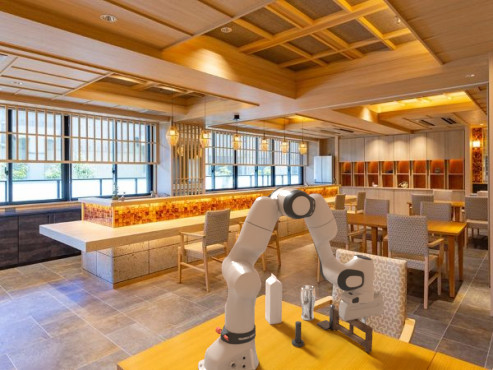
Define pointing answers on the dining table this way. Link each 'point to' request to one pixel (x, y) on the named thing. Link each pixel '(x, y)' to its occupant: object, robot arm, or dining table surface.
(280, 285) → the milk
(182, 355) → the dining table surface
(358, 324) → the gate
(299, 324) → the post
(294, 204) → the robot arm
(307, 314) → the beer glass
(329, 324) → the hinge post
